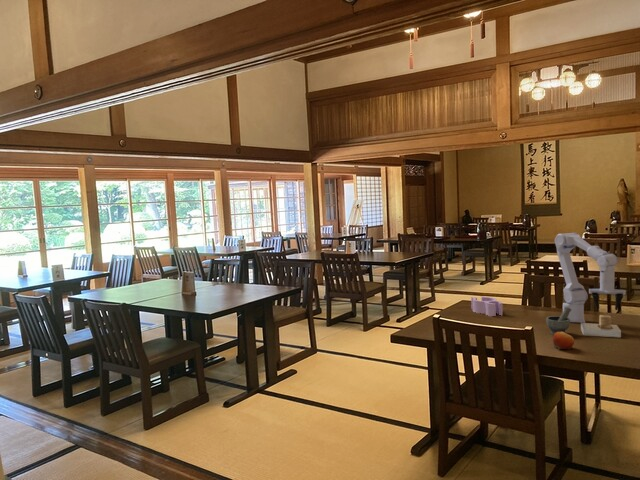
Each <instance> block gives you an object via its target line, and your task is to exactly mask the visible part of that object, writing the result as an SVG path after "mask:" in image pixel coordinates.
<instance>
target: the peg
mask: <svg viewBox="0 0 640 480" xmlns="http://www.w3.org/2000/svg"><path fill="white" fill-rule="evenodd" d="M598 319H599V321H598V324H599V328H603V329H611V325H612V317H611V315H608V314H599V317H598Z"/></svg>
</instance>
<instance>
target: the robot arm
mask: <svg viewBox="0 0 640 480" xmlns="http://www.w3.org/2000/svg"><path fill="white" fill-rule="evenodd" d="M553 240H554V245H555V247H556V253H557V258H558V260H559V264H560V267H561V270H562V274H563V277H564V282H565V287H564V288H563V290H562V291H563V299H564V301H565V302H562V312H563V311H564V310H565V307H568V308H570V309H571V311H570V313H569V315H568V317H567V318H569V319H570V323H578V324H579V323H580V324H581V323H586V319H585V315H584V314H585V313H584V312H585V311H584V310H585V309H584V308H585V303H586V301H587V300H588V297H589V296H588V294H591V296H592V298H593V300H594V304H595V309H596V310H599V308H600V307H599V295H605V294H606V295H615V296H614V297H615V299H614V300H615V304H614V309H615V311H618V310H619V307H620V306H619V305H620V303H621V302H622V300H623V298H624V296H626V295H627V294H626V293H627V292H626V290H625V289H616V288H615V273H616V272H615V267H616V266H617V265H618V264H619V263H618V261H619V260H618V256H616V255H615V253H609V252H608V251H605V250H604V249H602V248H601V247H600V246H599V245H591V244H589V242H587V241H586V240H585V239H584V238H582V237H581V235H580V234H578V233H577V232H567V233H558V234H556V236H555V238H554V239H553ZM575 247H578V248H580V249H581V250H583V251H585V252H586V254H587V256H588V257H589V258H591V259H592V260H594V261H596V263H597V265H598V269H599V288H588V292H587V291H586V289H585V287H584V285H583V284H581V283H580V282H579V280H578V277H577V274H576V270H575V267H574V266H575V265H574V263H573V260H572V256H571V253H570V252H571V251H572V250H573V249H574V248H575Z"/></svg>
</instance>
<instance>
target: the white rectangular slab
mask: <svg viewBox="0 0 640 480" xmlns="http://www.w3.org/2000/svg"><path fill="white" fill-rule="evenodd" d="M580 331H581V332H582V335H583V336H587V337H588V336H589V337H606V338H618V339H619V338H621V337H622V331H621V329H620V327H619V326H618V325H617V324H611V329H603V328H599V323H589V322H585V323H580Z"/></svg>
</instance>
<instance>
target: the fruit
mask: <svg viewBox="0 0 640 480" xmlns="http://www.w3.org/2000/svg"><path fill="white" fill-rule="evenodd" d="M552 342H553V347H554V348H557V351H560V349H561V350H570V349H572V348H573V346H574V344H575V339H574V337H573V335H570V334H568V333H566V332H565V333H564V332H556V333H555V334H553V337H552Z"/></svg>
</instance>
